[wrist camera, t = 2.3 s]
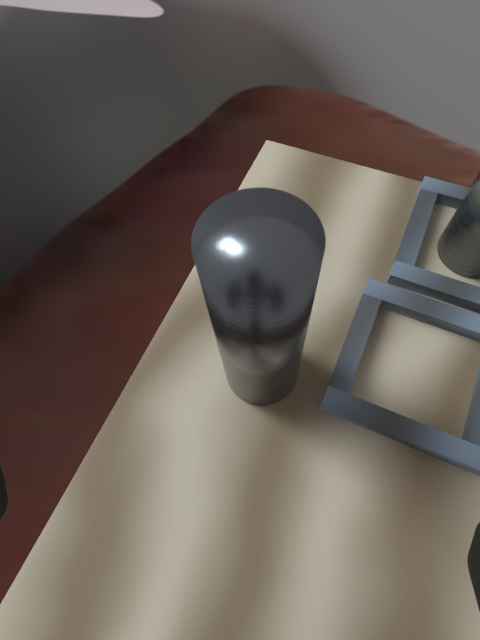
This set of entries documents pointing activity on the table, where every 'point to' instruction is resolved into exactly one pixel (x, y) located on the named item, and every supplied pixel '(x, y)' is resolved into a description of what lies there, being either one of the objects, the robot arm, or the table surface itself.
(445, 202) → the board
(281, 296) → the pin
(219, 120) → the table surface
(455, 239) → the fixed pin
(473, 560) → the robot arm
